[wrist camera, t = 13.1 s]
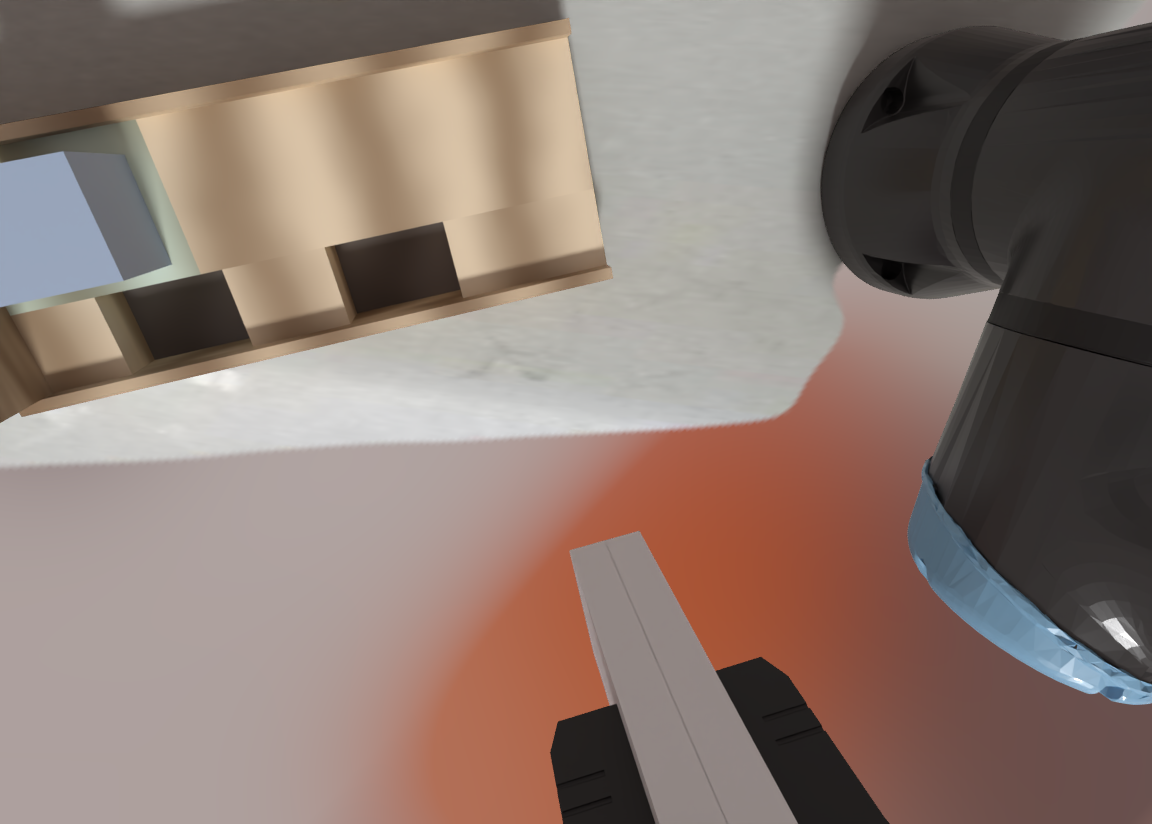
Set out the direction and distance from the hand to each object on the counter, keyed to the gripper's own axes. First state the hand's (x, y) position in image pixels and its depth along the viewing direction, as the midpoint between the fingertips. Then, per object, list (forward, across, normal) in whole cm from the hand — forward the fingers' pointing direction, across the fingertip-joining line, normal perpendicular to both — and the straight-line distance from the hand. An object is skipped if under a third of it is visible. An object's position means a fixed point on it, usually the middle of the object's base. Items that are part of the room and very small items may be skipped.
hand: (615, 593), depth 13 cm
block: (+23, +18, -10) cm, 31 cm away
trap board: (+26, +9, -8) cm, 29 cm away
